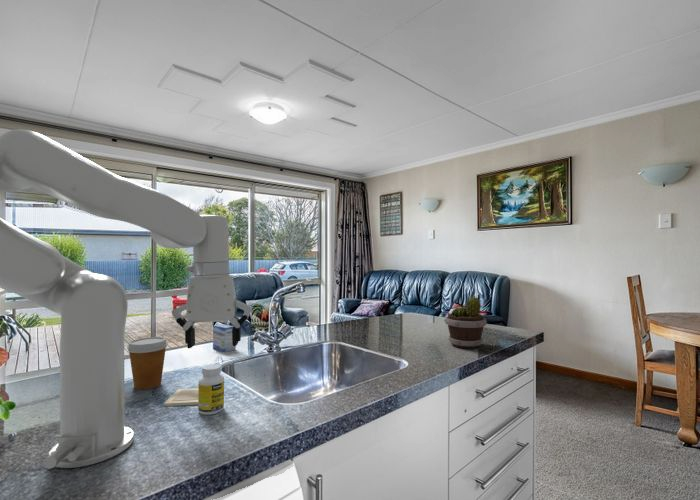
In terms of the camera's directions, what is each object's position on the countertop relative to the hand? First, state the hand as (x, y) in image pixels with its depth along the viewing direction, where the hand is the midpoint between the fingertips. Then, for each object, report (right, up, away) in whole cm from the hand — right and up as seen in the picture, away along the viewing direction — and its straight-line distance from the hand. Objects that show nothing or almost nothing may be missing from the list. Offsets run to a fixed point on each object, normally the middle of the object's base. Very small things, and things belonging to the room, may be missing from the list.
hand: (213, 345), depth 82 cm
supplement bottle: (0, -15, -1) cm, 15 cm away
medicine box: (-15, -15, +51) cm, 55 cm away
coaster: (-8, -15, +7) cm, 18 cm away
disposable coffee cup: (-23, -15, +15) cm, 31 cm away
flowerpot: (+74, -15, +54) cm, 93 cm away
